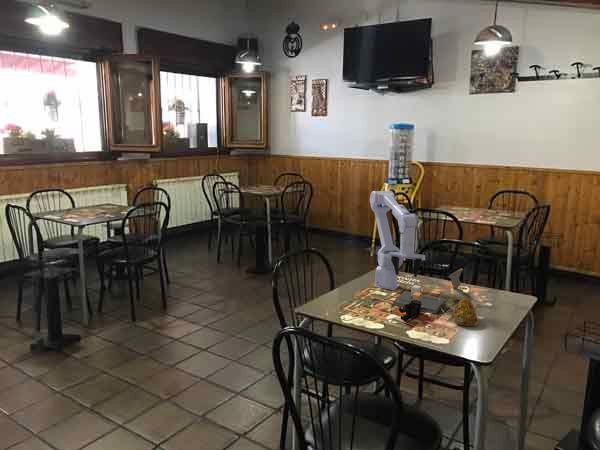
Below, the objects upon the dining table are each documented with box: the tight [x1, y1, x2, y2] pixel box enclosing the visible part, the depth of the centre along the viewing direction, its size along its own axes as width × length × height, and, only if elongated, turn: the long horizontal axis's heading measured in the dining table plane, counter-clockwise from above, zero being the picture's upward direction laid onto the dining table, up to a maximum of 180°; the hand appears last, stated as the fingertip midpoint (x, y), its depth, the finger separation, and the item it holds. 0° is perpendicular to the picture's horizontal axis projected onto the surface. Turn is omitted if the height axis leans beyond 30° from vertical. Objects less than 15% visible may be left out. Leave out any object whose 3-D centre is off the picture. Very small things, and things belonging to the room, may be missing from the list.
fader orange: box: [412, 292, 423, 301], centre depth 189 cm, size 2×4×4 cm, turn 150°
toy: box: [398, 300, 422, 323], centre depth 178 cm, size 15×5×7 cm, turn 146°
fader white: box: [410, 285, 421, 296], centre depth 197 cm, size 2×4×4 cm, turn 150°
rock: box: [452, 299, 479, 327], centre depth 175 cm, size 11×8×10 cm
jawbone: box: [448, 268, 473, 302], centre depth 204 cm, size 14×8×15 cm
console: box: [392, 291, 446, 315], centre depth 193 cm, size 17×15×2 cm
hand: (406, 275), depth 198 cm, fingers open, 7 cm apart
